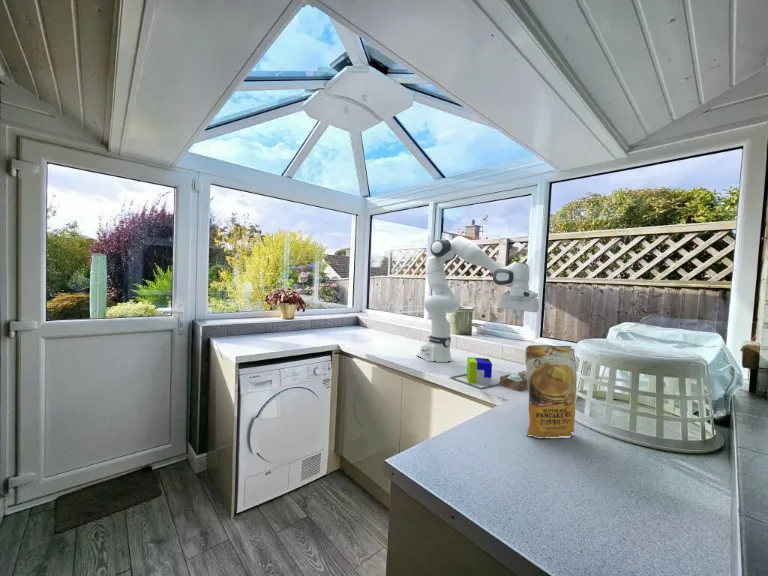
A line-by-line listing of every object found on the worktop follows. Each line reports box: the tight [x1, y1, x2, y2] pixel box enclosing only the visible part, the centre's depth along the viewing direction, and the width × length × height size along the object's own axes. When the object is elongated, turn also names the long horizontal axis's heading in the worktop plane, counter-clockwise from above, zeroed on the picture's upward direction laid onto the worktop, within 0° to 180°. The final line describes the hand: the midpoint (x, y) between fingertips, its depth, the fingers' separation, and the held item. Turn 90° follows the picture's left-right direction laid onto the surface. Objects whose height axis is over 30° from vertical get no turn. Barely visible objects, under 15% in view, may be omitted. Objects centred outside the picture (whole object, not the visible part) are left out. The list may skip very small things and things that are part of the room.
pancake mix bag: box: [525, 344, 578, 438], centre depth 101 cm, size 7×19×28 cm, turn 98°
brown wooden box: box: [498, 370, 528, 392], centre depth 150 cm, size 10×16×6 cm, turn 126°
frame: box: [449, 372, 501, 391], centre depth 154 cm, size 19×17×1 cm
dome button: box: [508, 374, 522, 381], centre depth 148 cm, size 6×6×3 cm
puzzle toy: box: [466, 356, 493, 386], centre depth 154 cm, size 10×10×10 cm
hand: (517, 319), depth 169 cm, fingers closed
